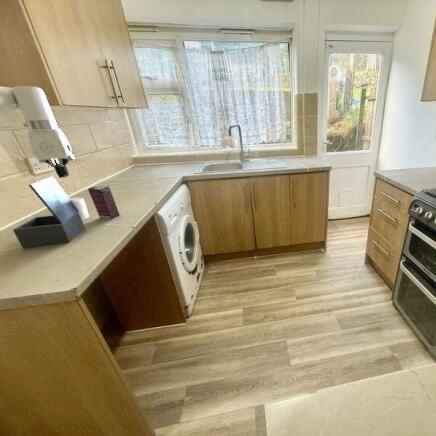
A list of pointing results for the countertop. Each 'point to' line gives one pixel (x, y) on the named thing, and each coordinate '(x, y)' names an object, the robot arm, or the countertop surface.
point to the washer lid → (54, 199)
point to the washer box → (48, 231)
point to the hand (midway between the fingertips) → (64, 176)
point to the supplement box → (104, 202)
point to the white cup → (80, 207)
